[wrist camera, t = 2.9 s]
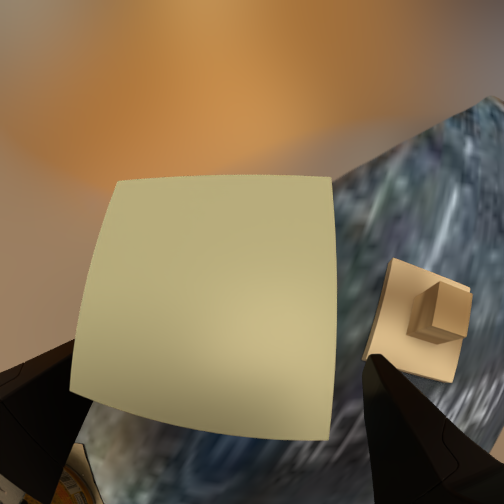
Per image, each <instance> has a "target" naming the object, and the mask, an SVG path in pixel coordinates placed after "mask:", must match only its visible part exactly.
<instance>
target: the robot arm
mask: <svg viewBox="0 0 504 504" xmlns="http://www.w3.org/2000/svg"><path fill="white" fill-rule="evenodd" d="M74 343H75V339H73V340H71V341H69V342H67V343H65V344H62V345H60V346H58V347H56V348H54V349H52V350H50V351H47V352H45V353H43V354H41V355H39V356H37V357H35V358H33V359H30V360H28V361H26V362H25V363H22V364H19V365H17V366H15V367H13V368H11V369H8V370H6V371H3V372H1V373H0V504H28V501H27V500H25V499H24V496H25V494H28V495H29V496H31V497H32V498H34V499H35V500H37V501H39V502H40V503H42V504H51V503H52V500H53V497H54V494H55V491H56V488H57V486H58V483H59V480H60V478H61V475H62V472H63V470H64V467H65V464H66V462H67V459H68V457H69V454H70V452H71V450H72V447H73V445H74V443H75V440H76V438H77V436H78V433H79V431H80V429H81V427H82V424H83V422H84V420H85V418H86V416H87V414H88V411H89V409H90V407H91V405H92V403H93V400H91V399H88V398H86V397H83V396H81V395H78V394H76V393H74V392H71V391H70V378H71V368H72V359H73V351H74ZM362 384H363V401H364V419H365V426H366V433H367V439H368V446H369V454H370V462H371V470H372V480H373V490H374V502H375V504H504V464H503V463H501V462H499V461H498V460H496V459H495V458H494V457H492V456H491V455H490V454H489V453H487V452H486V451H485V450H484V449H482V448H481V447H480V446H479V445H477V444H476V443H475V442H473V441H472V440H471V439H470V438H469V437H467V436H466V435H465V434H464V433H463V432H462V431H461V430H460V429H459V428H458V427H456V426H455V425H454V424H453V423H452V422H451V421H450V420H449V419H448V418H446V416H445V415H444V414H443V413H442V412H441V411H440V410H439V409H438V408H437V407H436V406H435V405H434V404H433V403H432V402H431V401H430V400H429V399H428V398H427V397H426V396H425V395H424V394H423V393H422V392H421V391H420V390H419V389H418V388H416V387H415V386H414V385H413V384H412V383H411V382H410V381H409V380H408V379H407V378H406V377H405V376H404V375H403V374H402V373H401V372H400V371H399V370H398V369H397V368H396V367H395V366H394V365H393V364H392V363H391V362H390V361H388V360H387V359H386V358H385V357H384V356H383V355H382V354H370V355H369V356H368V358H367V361H366V364H365V367H364V370H363V373H362Z"/></svg>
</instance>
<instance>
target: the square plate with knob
mask: <svg viewBox="0 0 504 504" xmlns="http://www.w3.org/2000/svg"><path fill="white" fill-rule="evenodd" d="M471 303H472V294H471V293H470V288H469V287H467V286H464V285H462V284H460V283H457V282H455V281H452V280H450V279H447V278H445V277H442V276H440V275H437V274H435V273H432V272H429V271H427V270H424V269H422V268H419V267H417V266H414V265H411V264H409V263H406V262H403V261H401V260H398V259H395V258H392V259H391V261H390V262H389V263H388V267H387V271H386V276H385V280H384V284H383V288H382V292H381V296H380V300H379V304H378V308H377V311H376V315H375V318H374V322H373V325H372V329H371V332H370V335H369V338H368V341H367V345H366V348H365V351H364V354H363V357H362V359H361V360H364V361H367V358H368V356H369V355H370V354H382V355H383V356H384V357H385V358H386V359H387V360H388V361H390V362H391V363H392V364H393V365H394V366H395V367H396V368H397V369H398V370H399V371H402V372H405V373H409V374H413V375H416V376H420V377H424V378H428V379H432V380H436V381H440V382H444V383H452V381H453V378H454V374H455V370H456V367H457V363H458V358H459V354H460V349H461V345H462V340H463V338H465V337H466V336H467V330H468V324H469V318H470V310H471Z"/></svg>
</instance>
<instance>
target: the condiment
mask: <svg viewBox="0 0 504 504" xmlns="http://www.w3.org/2000/svg"><path fill="white" fill-rule="evenodd" d="M83 475H84V476H83ZM24 499H25V500H27V501H28V504H42V503H40V502H39V501H37V500H35V499H34V498H32V497H31V496H29V495H28V494H25V496H24ZM51 504H103V502H102V500H101V498H100V495H99V493H98V491H97V487H96V486H95V484H94V481H93V477H92V474H91V471H90V467H89V464H88V462H87V459H86V457H85V453H84V449H83V445H82V444H78V443H74V445H73V447H72V450H71V452H70V454H69V457H68V459H67V462H66V464H65V467H64V470H63V472H62V475H61V478H60V480H59V483H58V486H57V488H56V491H55V494H54V497H53V500H52V503H51Z"/></svg>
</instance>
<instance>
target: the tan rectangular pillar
mask: <svg viewBox="0 0 504 504" xmlns="http://www.w3.org/2000/svg"><path fill="white" fill-rule="evenodd" d="M336 327H337V270H336V241H335V222H334V207H333V194H332V183H331V177H315V176H292V175H205V176H180V177H162V178H148V179H135V180H124V181H118V182H117V185H116V187H115V190H114V192H113V195H112V198H111V201H110V203H109V206H108V209H107V212H106V215H105V218H104V221H103V224H102V227H101V230H100V233H99V237H98V240H97V243H96V247H95V250H94V253H93V257H92V261H91V264H90V268H89V272H88V276H87V281H86V285H85V289H84V293H83V298H82V303H81V308H80V313H79V318H78V324H77V330H76V336H75V343H74V351H73V359H72V368H71V378H70V391H71V392H74V393H76V394H78V395H81V396H83V397H86V398H88V399H91V400H93V401H96V402H99V403H101V404H104V405H107V406H110V407H113V408H116V409H119V410H122V411H125V412H128V413H131V414H134V415H138V416H141V417H145V418H148V419H152V420H156V421H160V422H164V423H168V424H172V425H176V426H181V427H186V428H191V429H196V430H201V431H207V432H213V433H219V434H226V435H234V436H242V437H252V438H263V439H278V440H328V439H329V431H330V422H331V412H332V401H333V389H334V374H335V356H336Z"/></svg>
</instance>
